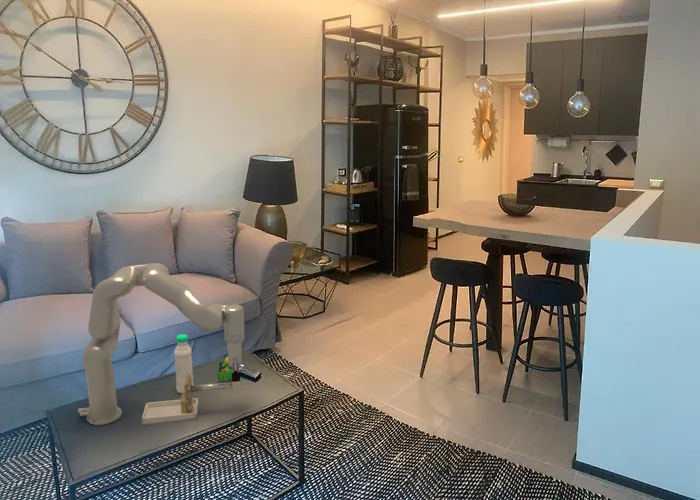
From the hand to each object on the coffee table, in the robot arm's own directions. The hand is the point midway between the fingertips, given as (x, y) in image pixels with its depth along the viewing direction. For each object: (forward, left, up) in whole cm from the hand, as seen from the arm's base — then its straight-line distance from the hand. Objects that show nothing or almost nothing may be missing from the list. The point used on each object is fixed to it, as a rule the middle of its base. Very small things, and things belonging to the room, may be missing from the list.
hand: (236, 378), depth 213 cm
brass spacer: (-20, 0, -12) cm, 24 cm away
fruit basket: (-3, +27, -13) cm, 31 cm away
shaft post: (-18, 0, -13) cm, 22 cm away
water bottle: (-21, +18, -13) cm, 31 cm away
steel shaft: (-8, 0, -4) cm, 9 cm away
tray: (-25, 0, -13) cm, 28 cm away
